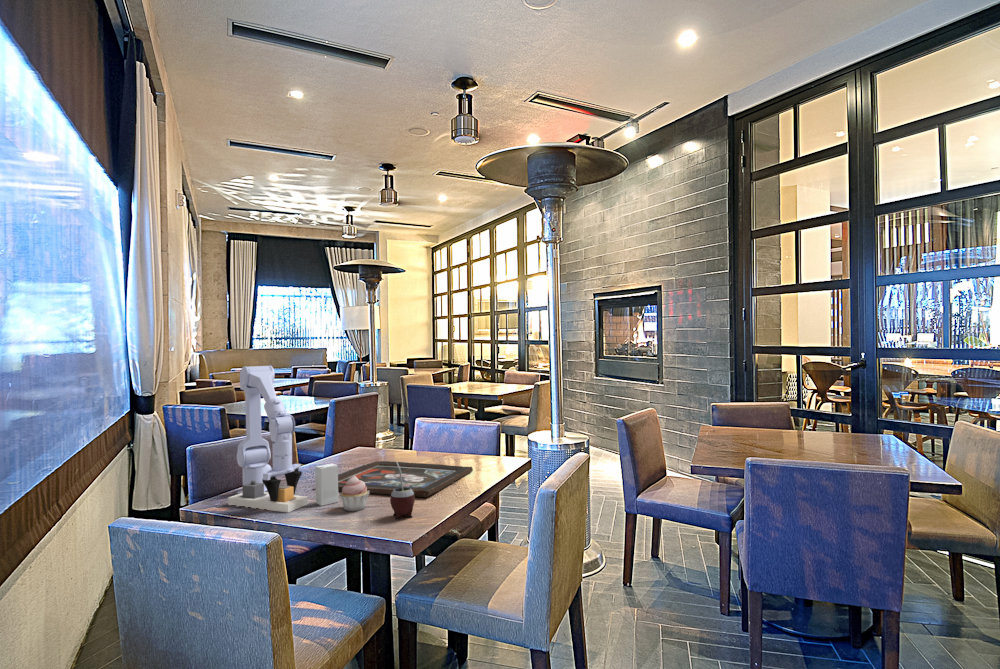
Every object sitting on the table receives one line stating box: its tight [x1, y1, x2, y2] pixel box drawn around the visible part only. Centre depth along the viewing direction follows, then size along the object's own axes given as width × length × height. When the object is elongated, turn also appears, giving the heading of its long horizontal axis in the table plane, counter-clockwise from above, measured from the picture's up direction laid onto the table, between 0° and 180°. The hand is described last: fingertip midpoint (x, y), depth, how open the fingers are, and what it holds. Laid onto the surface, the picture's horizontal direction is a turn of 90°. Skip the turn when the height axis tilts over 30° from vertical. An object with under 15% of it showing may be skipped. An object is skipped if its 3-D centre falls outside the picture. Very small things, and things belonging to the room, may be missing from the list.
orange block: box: [277, 484, 294, 502], centre depth 180 cm, size 4×5×6 cm
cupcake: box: [338, 476, 370, 512], centre depth 176 cm, size 9×9×10 cm
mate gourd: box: [389, 461, 416, 521], centre depth 168 cm, size 8×8×15 cm
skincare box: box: [314, 462, 339, 506], centre depth 183 cm, size 6×4×12 cm
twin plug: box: [241, 481, 264, 499], centre depth 184 cm, size 4×5×7 cm
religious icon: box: [338, 460, 474, 498], centre depth 211 cm, size 40×45×3 cm
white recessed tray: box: [227, 491, 309, 513], centre depth 182 cm, size 9×24×3 cm, turn 69°
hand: (282, 497), depth 180 cm, fingers open, 7 cm apart
